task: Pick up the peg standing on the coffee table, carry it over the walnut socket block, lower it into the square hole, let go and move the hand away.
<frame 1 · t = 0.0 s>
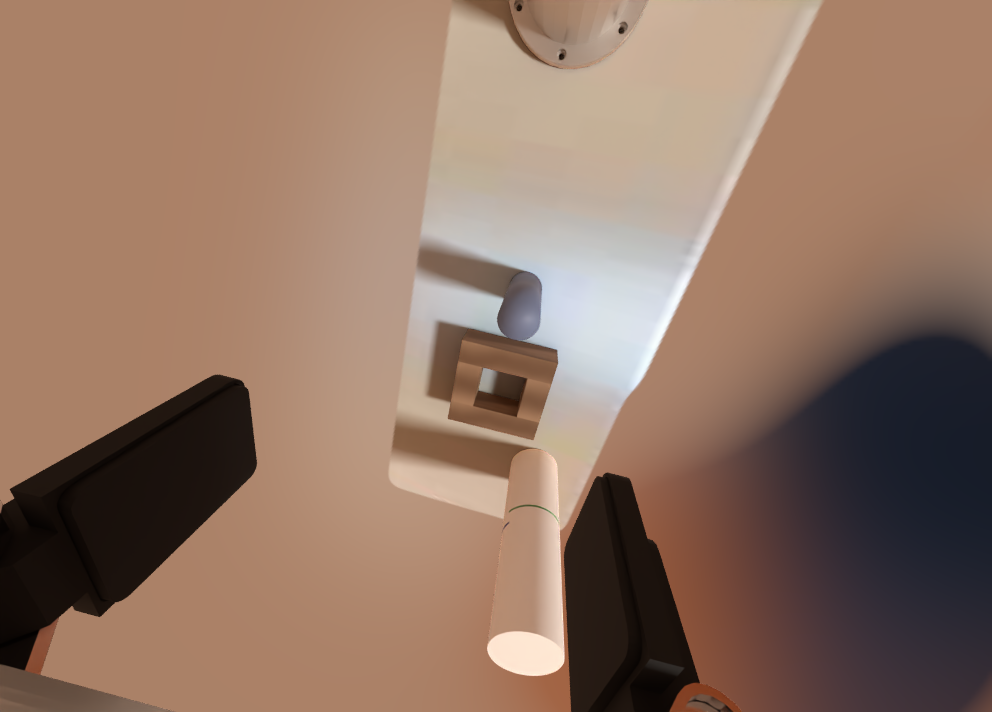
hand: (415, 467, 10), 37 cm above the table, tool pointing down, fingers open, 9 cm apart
peg: (525, 288, 44), on the table
socket block: (502, 378, 50), on the table
cylindrical container: (533, 466, 56), on the table
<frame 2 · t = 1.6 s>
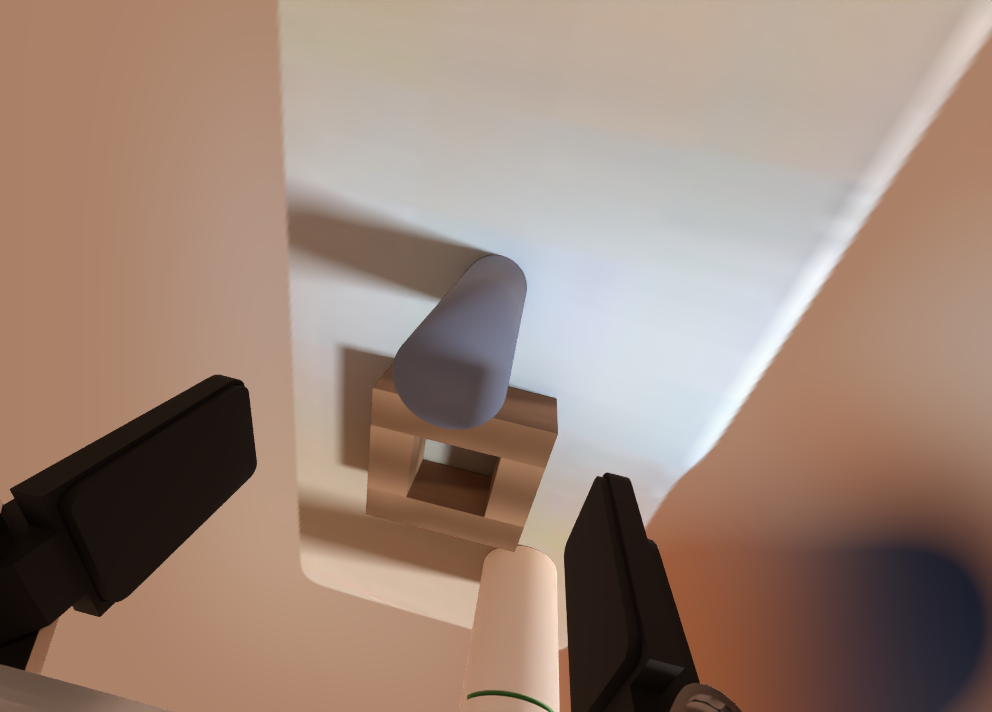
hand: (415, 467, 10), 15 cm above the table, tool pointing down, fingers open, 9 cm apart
peg: (495, 287, 23), on the table
socket block: (462, 441, 29), on the table
cylindrical container: (519, 567, 35), on the table
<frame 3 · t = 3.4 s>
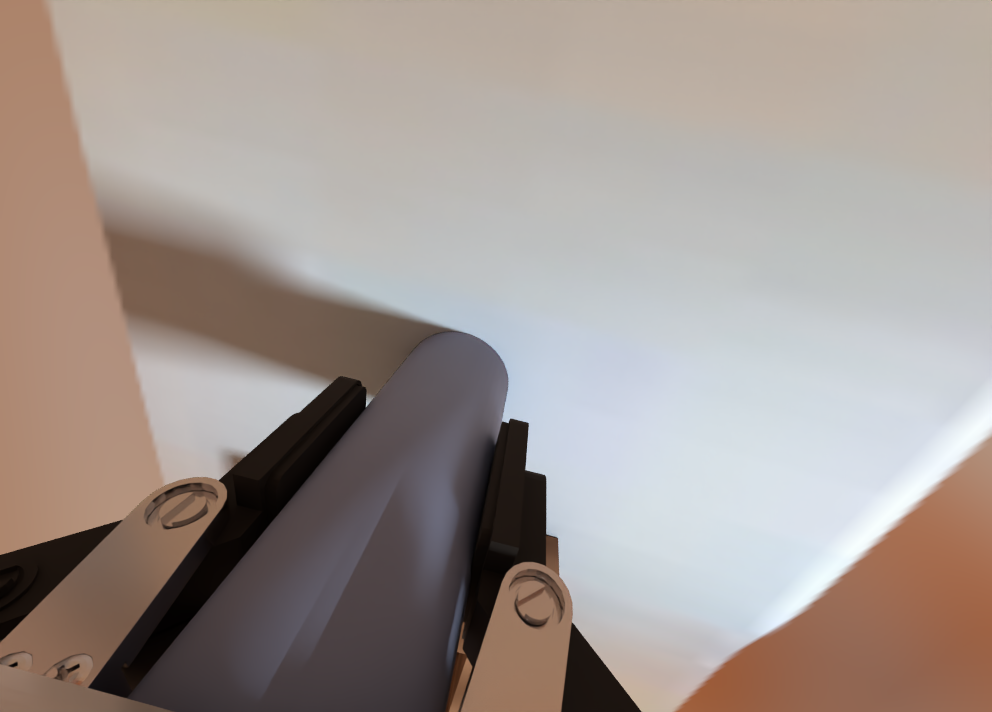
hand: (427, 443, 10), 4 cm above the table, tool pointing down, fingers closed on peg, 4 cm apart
peg: (456, 380, 14), on the table, touching gripper
socket block: (419, 583, 20), on the table
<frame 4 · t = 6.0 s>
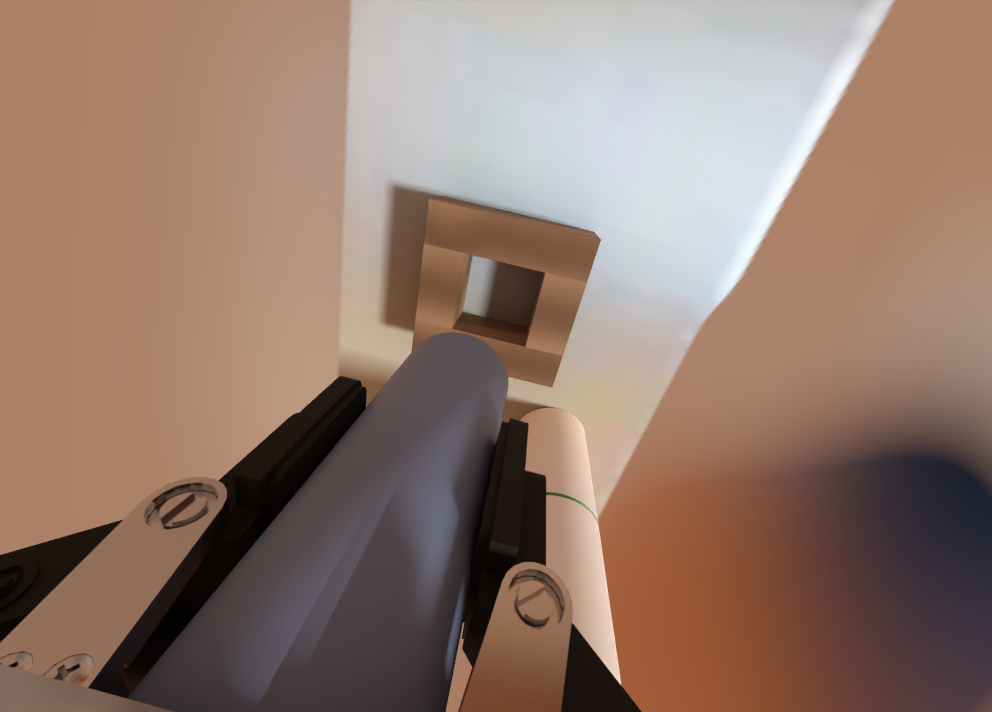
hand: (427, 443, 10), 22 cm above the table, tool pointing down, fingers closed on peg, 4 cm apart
peg: (456, 380, 14), point 18 cm above the table, touching gripper
socket block: (502, 288, 31), on the table
cylindrical container: (549, 435, 37), on the table
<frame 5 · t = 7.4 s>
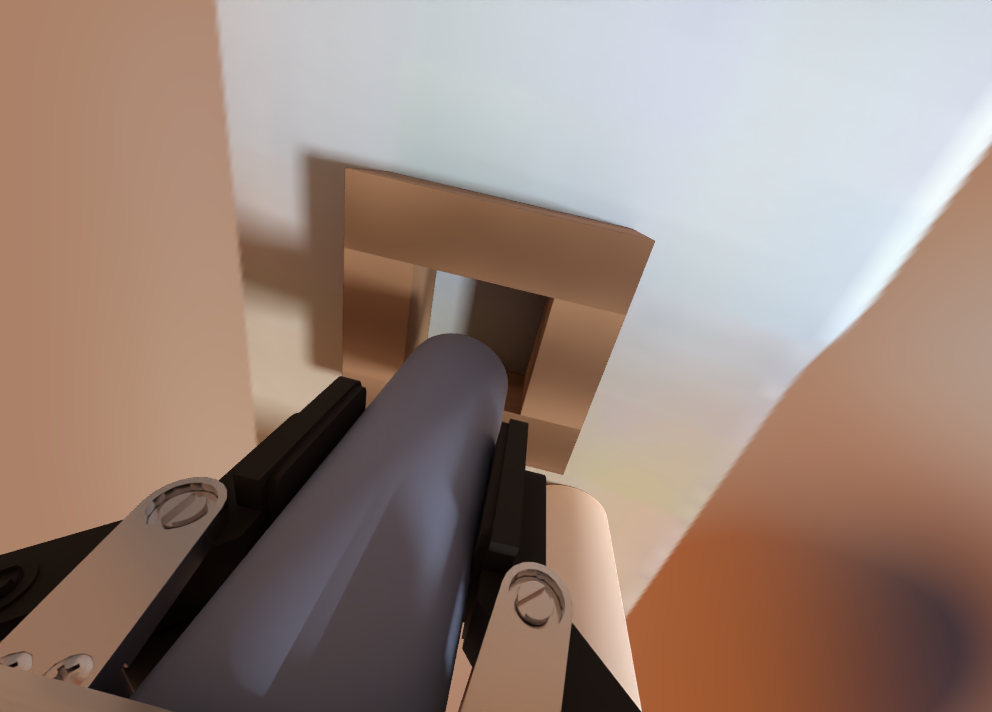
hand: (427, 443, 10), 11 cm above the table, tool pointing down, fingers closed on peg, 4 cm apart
peg: (456, 381, 14), point 7 cm above the table, touching gripper
socket block: (484, 316, 20), on the table
cylindrical container: (556, 519, 26), on the table
when the fingers open (6 cm above the table, at t = 8.7 s): peg drops 2 cm, resting in socket block.
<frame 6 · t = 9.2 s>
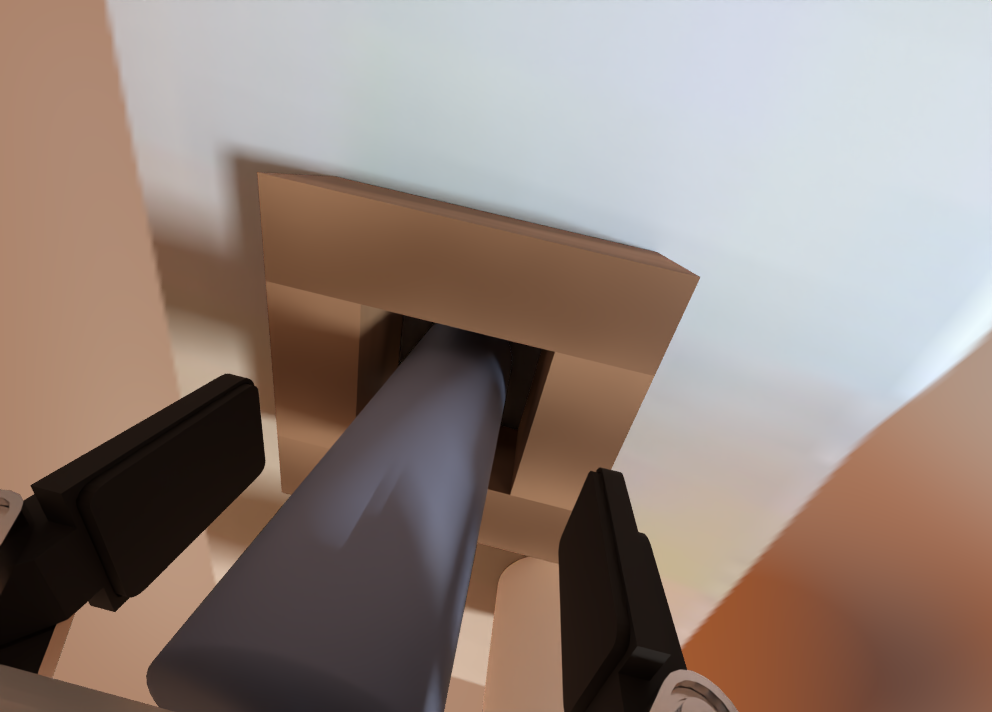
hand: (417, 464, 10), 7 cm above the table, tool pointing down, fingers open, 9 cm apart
peg: (466, 357, 16), resting in socket block
socket block: (466, 358, 16), on the table
cylindrical container: (556, 591, 22), on the table
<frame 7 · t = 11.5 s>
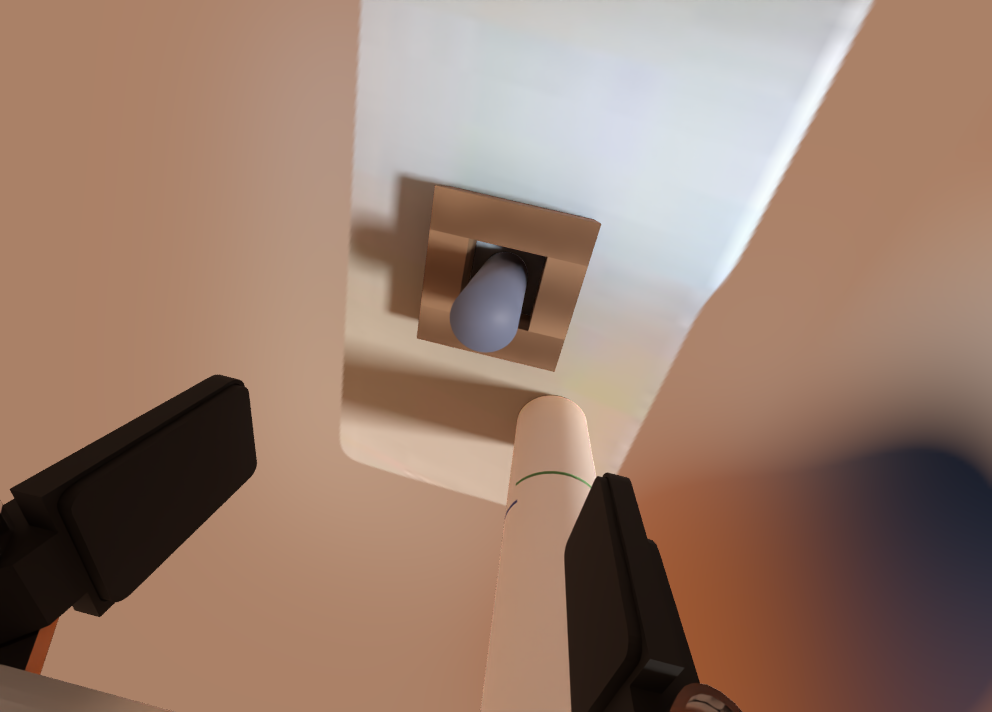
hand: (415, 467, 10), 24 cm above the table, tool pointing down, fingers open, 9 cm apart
peg: (505, 275, 31), resting in socket block
socket block: (505, 275, 31), on the table
cylindrical container: (551, 423, 38), on the table
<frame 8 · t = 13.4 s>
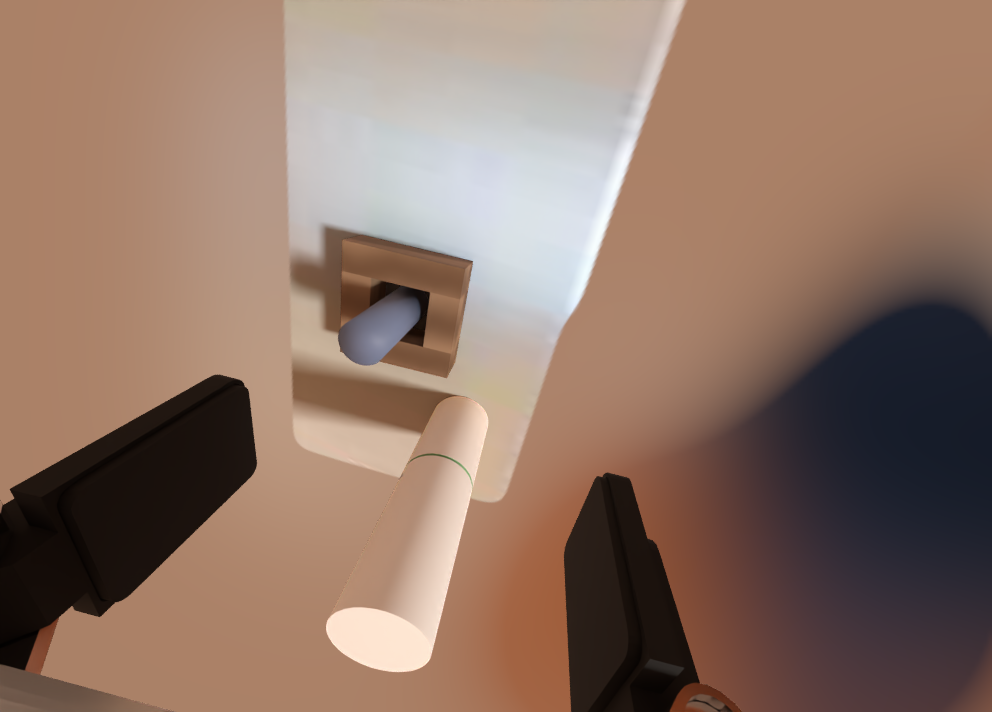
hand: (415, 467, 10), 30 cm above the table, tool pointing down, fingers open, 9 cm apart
peg: (411, 302, 40), resting in socket block
socket block: (411, 302, 40), on the table
cylindrical container: (460, 419, 46), on the table
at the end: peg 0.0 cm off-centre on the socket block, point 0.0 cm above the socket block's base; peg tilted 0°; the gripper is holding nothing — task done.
